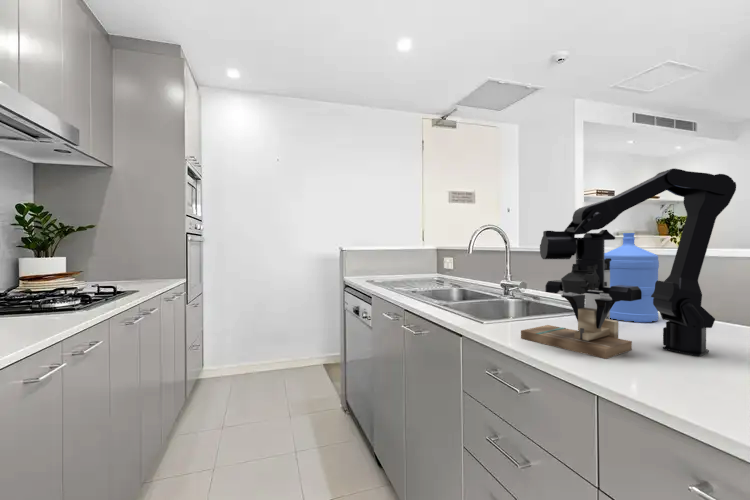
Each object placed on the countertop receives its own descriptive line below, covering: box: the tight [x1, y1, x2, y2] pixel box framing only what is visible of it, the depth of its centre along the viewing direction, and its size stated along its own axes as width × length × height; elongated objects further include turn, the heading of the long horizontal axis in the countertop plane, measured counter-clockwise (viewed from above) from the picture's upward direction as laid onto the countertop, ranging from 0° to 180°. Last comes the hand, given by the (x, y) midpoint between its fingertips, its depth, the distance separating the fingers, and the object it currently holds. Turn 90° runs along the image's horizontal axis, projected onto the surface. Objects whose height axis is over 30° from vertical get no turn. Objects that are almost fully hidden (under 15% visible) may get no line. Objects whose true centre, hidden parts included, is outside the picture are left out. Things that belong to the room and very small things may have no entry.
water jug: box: [604, 232, 660, 323], centre depth 117 cm, size 16×16×28 cm
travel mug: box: [584, 258, 611, 320], centre depth 106 cm, size 6×7×20 cm
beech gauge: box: [575, 308, 619, 341], centre depth 84 cm, size 5×12×8 cm, turn 123°
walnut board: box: [520, 324, 633, 360], centre depth 86 cm, size 20×12×2 cm, turn 33°
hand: (589, 326), depth 83 cm, fingers closed on beech gauge, 3 cm apart
